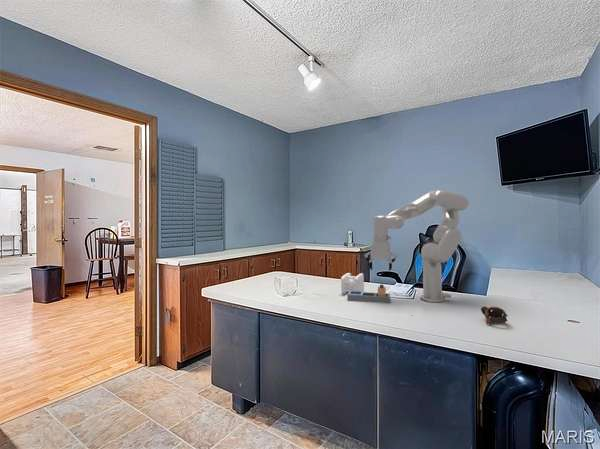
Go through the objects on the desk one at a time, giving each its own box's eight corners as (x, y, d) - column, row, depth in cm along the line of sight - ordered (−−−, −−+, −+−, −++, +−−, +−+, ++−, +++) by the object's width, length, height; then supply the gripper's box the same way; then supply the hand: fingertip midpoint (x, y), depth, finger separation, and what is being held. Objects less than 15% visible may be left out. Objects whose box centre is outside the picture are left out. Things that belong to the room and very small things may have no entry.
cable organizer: (357, 297, 184) (357, 277, 184) (340, 295, 189) (340, 276, 188) (364, 291, 198) (363, 272, 197) (347, 289, 202) (347, 271, 202)
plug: (385, 299, 172) (385, 284, 172) (385, 301, 168) (385, 286, 168) (378, 299, 173) (378, 284, 173) (377, 301, 169) (377, 285, 169)
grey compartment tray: (389, 301, 173) (389, 292, 173) (389, 305, 165) (389, 296, 165) (349, 299, 180) (349, 290, 180) (347, 303, 172) (347, 294, 172)
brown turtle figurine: (513, 325, 135) (512, 311, 132) (498, 337, 133) (497, 324, 129) (488, 311, 146) (486, 298, 142) (473, 322, 143) (471, 309, 140)
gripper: (397, 238, 170) (397, 269, 171) (365, 237, 175) (364, 268, 176) (397, 239, 163) (397, 272, 164) (363, 238, 168) (363, 270, 169)
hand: (380, 270), depth 170 cm, fingers open, 9 cm apart
